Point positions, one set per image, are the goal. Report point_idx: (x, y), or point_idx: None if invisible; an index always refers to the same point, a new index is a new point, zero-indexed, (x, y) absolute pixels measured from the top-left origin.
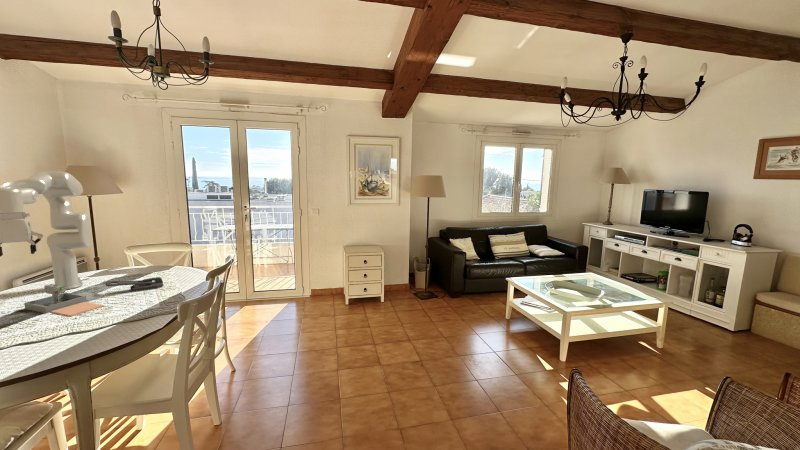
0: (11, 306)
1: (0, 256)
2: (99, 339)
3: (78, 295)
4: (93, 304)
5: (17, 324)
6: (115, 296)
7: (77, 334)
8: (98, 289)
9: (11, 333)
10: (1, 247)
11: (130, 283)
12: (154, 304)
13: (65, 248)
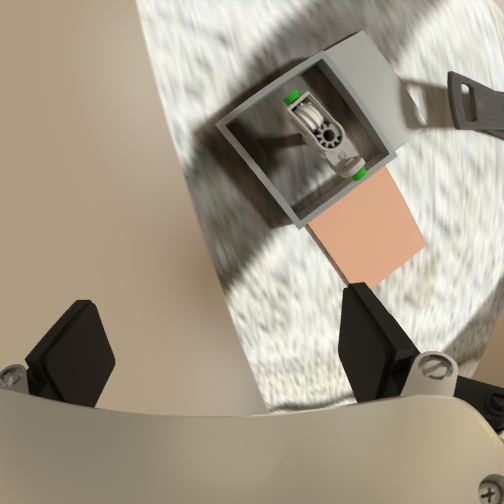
0: (165, 70)
1: (109, 349)
2: None
3: (374, 128)
4: (407, 219)
5: (245, 292)
6: (448, 148)
7: None
8: (389, 14)
9: (253, 352)
10: (53, 369)
11: (495, 129)
12: (489, 291)
13: None
